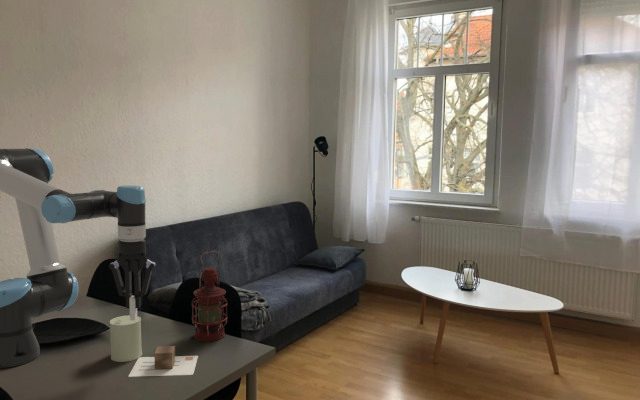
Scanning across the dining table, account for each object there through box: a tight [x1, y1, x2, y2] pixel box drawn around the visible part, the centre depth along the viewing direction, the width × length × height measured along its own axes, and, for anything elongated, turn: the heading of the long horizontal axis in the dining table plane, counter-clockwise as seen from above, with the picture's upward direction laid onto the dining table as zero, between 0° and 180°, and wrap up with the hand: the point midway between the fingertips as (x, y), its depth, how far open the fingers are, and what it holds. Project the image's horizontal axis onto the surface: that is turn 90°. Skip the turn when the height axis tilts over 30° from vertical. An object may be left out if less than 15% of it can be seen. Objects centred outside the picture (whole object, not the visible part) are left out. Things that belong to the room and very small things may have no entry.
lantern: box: [191, 250, 229, 343], centre depth 172 cm, size 12×12×30 cm
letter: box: [128, 355, 199, 378], centre depth 149 cm, size 18×13×1 cm
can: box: [109, 314, 143, 363], centre depth 155 cm, size 9×9×12 cm
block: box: [154, 345, 176, 370], centre depth 149 cm, size 5×5×5 cm
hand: (133, 318), depth 146 cm, fingers closed
